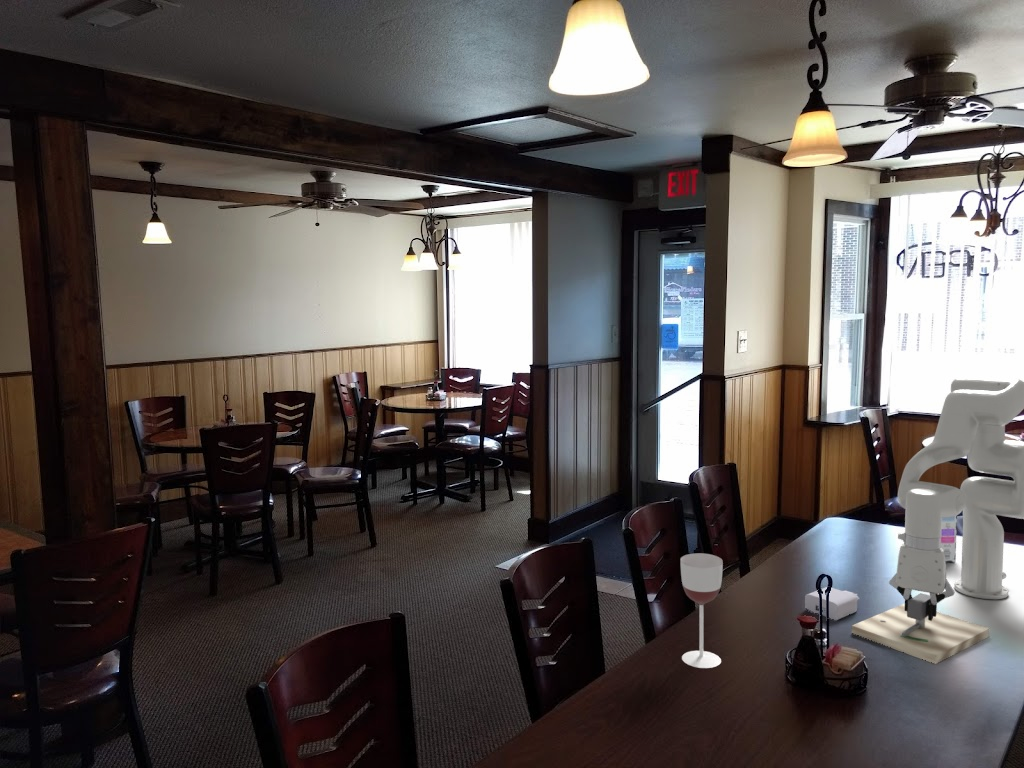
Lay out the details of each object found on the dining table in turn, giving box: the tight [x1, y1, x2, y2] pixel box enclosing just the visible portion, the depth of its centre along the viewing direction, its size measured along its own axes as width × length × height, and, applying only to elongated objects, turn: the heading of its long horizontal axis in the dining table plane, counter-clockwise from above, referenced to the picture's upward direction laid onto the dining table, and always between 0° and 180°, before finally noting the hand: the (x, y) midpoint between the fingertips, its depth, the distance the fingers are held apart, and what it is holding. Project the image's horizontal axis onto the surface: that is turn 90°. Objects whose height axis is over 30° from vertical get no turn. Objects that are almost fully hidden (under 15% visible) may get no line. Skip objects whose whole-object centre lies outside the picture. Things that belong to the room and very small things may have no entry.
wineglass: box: [680, 552, 724, 669], centre depth 173 cm, size 9×10×23 cm
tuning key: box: [902, 592, 931, 636], centre depth 181 cm, size 12×3×7 cm, turn 130°
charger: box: [804, 586, 860, 621], centre depth 201 cm, size 5×9×15 cm
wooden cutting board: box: [851, 602, 990, 665], centre depth 184 cm, size 24×20×2 cm
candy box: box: [941, 515, 958, 563], centre depth 239 cm, size 14×6×16 cm, turn 179°
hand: (920, 615), depth 183 cm, fingers closed on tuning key, 3 cm apart
